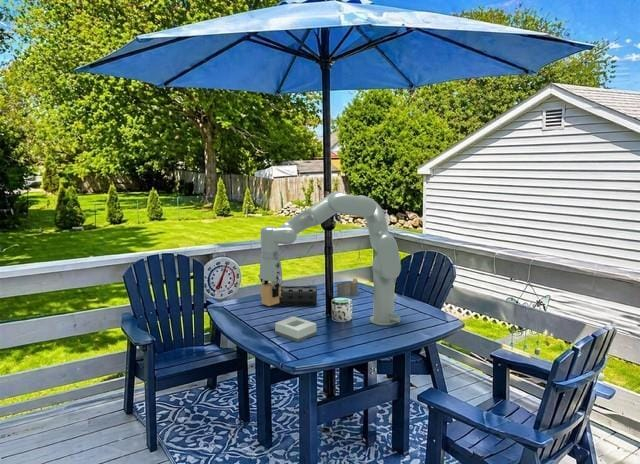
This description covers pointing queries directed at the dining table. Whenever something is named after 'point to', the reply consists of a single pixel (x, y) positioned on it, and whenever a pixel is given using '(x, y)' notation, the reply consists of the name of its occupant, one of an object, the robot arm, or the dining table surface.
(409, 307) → the dining table surface
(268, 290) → the plug
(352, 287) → the ruin model on sheet
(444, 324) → the dining table surface
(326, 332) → the dining table surface
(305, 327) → the socket block
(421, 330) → the dining table surface
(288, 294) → the muzzle brake
